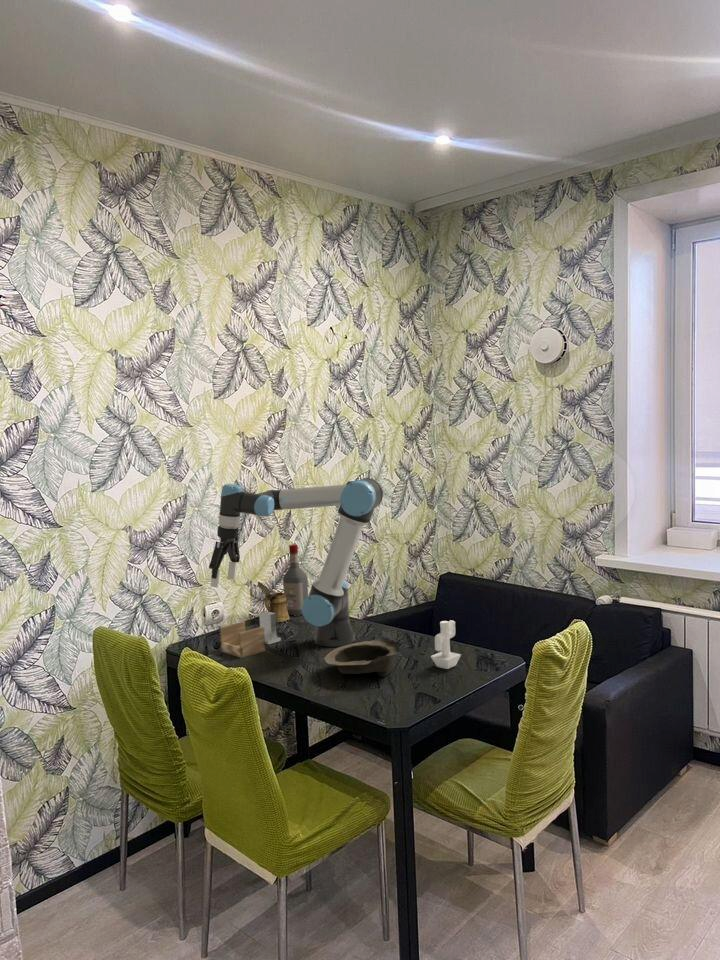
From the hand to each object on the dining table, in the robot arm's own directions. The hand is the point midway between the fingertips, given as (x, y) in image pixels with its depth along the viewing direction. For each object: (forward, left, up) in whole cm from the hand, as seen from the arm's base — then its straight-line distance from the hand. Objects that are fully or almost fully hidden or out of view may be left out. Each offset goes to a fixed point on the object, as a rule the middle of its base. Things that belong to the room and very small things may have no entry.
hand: (222, 582), depth 272 cm
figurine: (-77, -34, -25) cm, 87 cm away
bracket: (-5, -16, -25) cm, 30 cm away
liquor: (+18, -49, -25) cm, 58 cm away
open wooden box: (-8, -2, -25) cm, 26 cm away
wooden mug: (+16, -35, -25) cm, 46 cm away
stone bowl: (-59, -13, -25) cm, 65 cm away
